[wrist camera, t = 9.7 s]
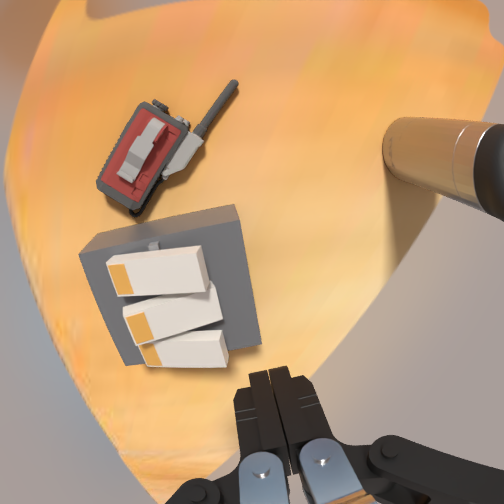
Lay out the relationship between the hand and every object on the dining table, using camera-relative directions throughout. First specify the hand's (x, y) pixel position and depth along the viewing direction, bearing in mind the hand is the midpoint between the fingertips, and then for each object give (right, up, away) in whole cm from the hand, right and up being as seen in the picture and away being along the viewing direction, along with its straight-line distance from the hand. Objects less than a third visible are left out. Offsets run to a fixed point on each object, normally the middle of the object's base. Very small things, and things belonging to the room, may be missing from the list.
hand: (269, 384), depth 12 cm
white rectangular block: (-10, +3, +20) cm, 22 cm away
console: (-10, +2, +29) cm, 31 cm away
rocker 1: (-9, -1, +22) cm, 24 cm away
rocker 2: (-9, -6, +24) cm, 26 cm away
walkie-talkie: (-11, +19, +23) cm, 32 cm away
